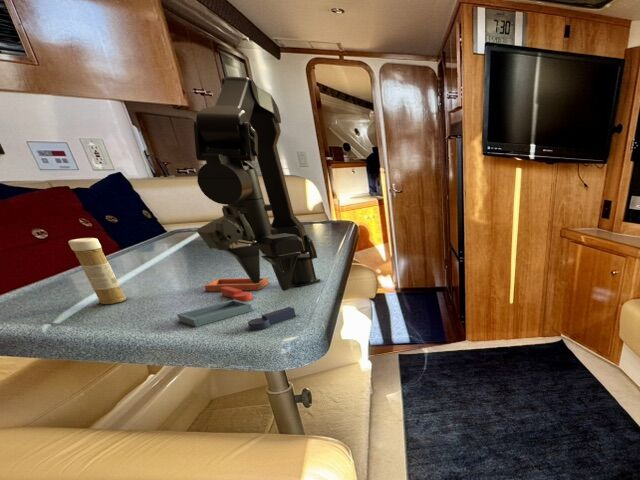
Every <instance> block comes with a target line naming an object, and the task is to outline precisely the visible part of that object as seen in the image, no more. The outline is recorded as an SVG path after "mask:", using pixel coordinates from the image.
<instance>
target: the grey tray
mask: <svg viewBox="0 0 640 480" xmlns="http://www.w3.org/2000/svg"><path fill="white" fill-rule="evenodd" d="M251 311H254V310H253V307H252V304H251V303H248V302H246V301H238V300H234V299H231V300H227V301H223V302H218V303H215V304H212V305H208V306H204V307H199V308H196V309H193V310H188V311H185V312H180V313H177V314H176V315H177V318H178V321H179V322H181V323H185V324H187V325H189V326H193V327H196V328H197V327H199V326H203V325H207V324H210V323H214V322H217V321H221V320H225V319H228V318H231V317H235V316H238V315H242V314H245V313H248V312H251Z"/></svg>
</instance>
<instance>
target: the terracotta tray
mask: <svg viewBox="0 0 640 480" xmlns="http://www.w3.org/2000/svg"><path fill="white" fill-rule="evenodd" d="M269 284H270V282H269V279H268V277H260V282H259V283H257V284H254V283H253V282H252V281H251V279H250V278H249V277H246V278H245V277H244V278H216V279H214V280H212V281H211V282H209V283H207V284H205V285H203V287H204V289H205V292H221V289H220V288H221V287H226V286H228V287H232V288H235V289H239V290H241V291H260V290H261V289H262V288H264V287H266V286H267V285H269Z"/></svg>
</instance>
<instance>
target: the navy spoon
mask: <svg viewBox="0 0 640 480" xmlns="http://www.w3.org/2000/svg"><path fill="white" fill-rule="evenodd" d="M295 317H297V314H296V311H295V307H291V306H287V307H284V308H281V309H278V310H274V311H271V312H267V313H265V314H261V315H260V317H256V318H253V319H250V320H248V321H247V325H248V328H249V330H251V331H260V330H265V329H268V328H270V326H271V325H275V324H278V323H280V322H283V321H286V320H290V319H293V318H295Z"/></svg>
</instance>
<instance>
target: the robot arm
mask: <svg viewBox="0 0 640 480" xmlns="http://www.w3.org/2000/svg"><path fill="white" fill-rule="evenodd" d="M221 85H222V87H221V90H220V92H219V95H218V97H217V100H216V102H215V104H214V106H209V107H204V108H201V109H200V110H199V111H198V112H197V113H196V114H195V120H194V121H193V135H194V148H195V157H196V160H197V161H201V162H203V161H204V162H205V163H204V164H202V165H201V166H200V168H199V169H198V172H197V180H196V182H197V186H198V187H199V190H200V191H201V192H202V193H203V194H204V196H205V197H207V198H208V199H209V200H211V201H212V202H214V203H217V204H220V205H222V208H221V212H222V214H223V216H220V217H218V218H216V219H213V220H212V221H210V222H208V223H206V224H204V225H202V226H201V227H199V228H197V229H196V232H197V234H198V236H200V238H201V239H202V240H203V242H204V243H205V244H206V246H207V247H208V248H209V249H216V250H217V251H223V252H225V253H228V254H229V255H231V256H233V257H234V258H235V260H236V261H237V262H238V264H240V267H242V269H243V270H244V272H245V273H246V275H247V276H248V278H250V279H251V281H252V282H253V283H254V284H257V283H259V282H260V278H261V264H260V261H261V259H260V257H261V258H262V259H263V260H265V261H266V262H268V263H269V264H270V265H271V267H272V270H273V272H274V274H275V278H276V280H277V283H278V284H279V287H280V289H281V291H282V292H286V291H288V290H289V289H290V286H296V287H304V286H307V285H312V284H315V283H318V282H321V280H322V279H320V278H317V275H316V270H315V267H314V263H313V260H314V259H318V253H317V250H316V247H315V244H314V241H313V240H312V239H311V237H310V235H309V234H308V233H307V232H306V229H305V225H304V224H303V223H302V222H301V221H300V220H299V219H298V217H297V216H296V215H295V214H294V210H293V206H292V201H291V198H290V194H289V190H288V185H287V181H286V179H285V173H284V170H283V166H282V162H281V159H280V155H279V150H278V146H277V144H278V142H279V139H280V136H281V131H282V129H281V123H282V117H281V114H280V109H279V107H278V104H277V102H276V101H275V99H274V97H273V96H272V95H271V93H269V92H267V91H266V90H264V89H262V88H261V87H259V86H258V85H257V84H256V83H255V81H254V80H253V79H252V78H249V77H248V76H233V75H232V76H229V75H226V76H225V77H221ZM256 160H257V163H258V167H259V170H260V175H261V177H262V178H261V179H262V181H263V185H264V188H265V191H266V192H265V193H266V196H267V199H268V204H267V203H266V202H265V199H264V195H263V191H262V187H261V183H260V180H259V176H258V173H257V169H256V167H255V164H254V163H253V162H256ZM268 212H271V213H272V217H273V219H272V222H271V220H270V217H269V213H268ZM260 252H261V254H262V255H260Z"/></svg>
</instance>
